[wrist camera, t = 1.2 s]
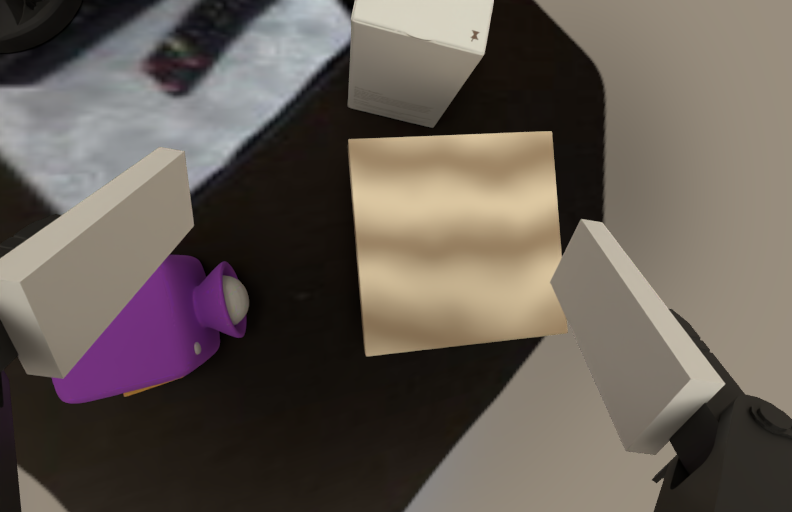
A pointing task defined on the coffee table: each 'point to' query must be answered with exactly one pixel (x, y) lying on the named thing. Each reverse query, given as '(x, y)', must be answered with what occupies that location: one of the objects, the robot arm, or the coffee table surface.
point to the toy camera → (160, 332)
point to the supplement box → (414, 55)
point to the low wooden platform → (455, 239)
